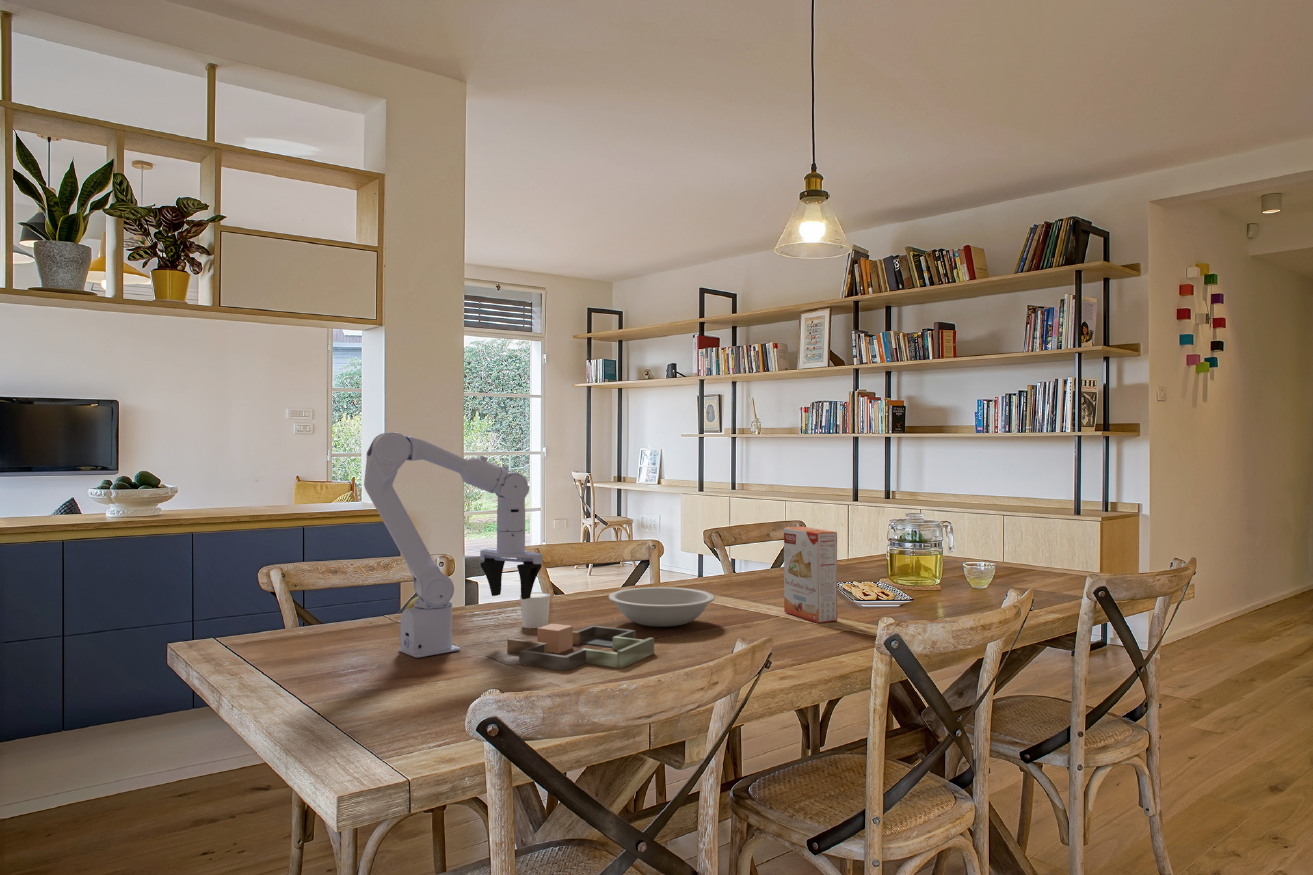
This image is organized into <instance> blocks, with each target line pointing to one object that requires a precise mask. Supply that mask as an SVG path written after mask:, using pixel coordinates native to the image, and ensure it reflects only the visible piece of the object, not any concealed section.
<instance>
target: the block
mask: <svg viewBox="0 0 1313 875" xmlns="http://www.w3.org/2000/svg"><path fill="white" fill-rule="evenodd" d="M573 627H574V626H573V625H569V624H568V625H566V624H559V623H550V624H549V623H548V625H546V626H543V627H540V628H537V631H536V632H537V635H536V636H537V641H536V642H542V643H547V653H552V652H553V653H552V654H561V653H563V652H566V651H569V650H571V649H573V648H574V646H573V645H574V644H573V631H574V628H573Z"/></svg>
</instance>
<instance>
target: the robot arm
mask: <svg viewBox="0 0 1313 875" xmlns="http://www.w3.org/2000/svg"><path fill="white" fill-rule="evenodd" d="M406 461H410V462H413V461H426V462H429V463H430V464H434V465H437V466H439V467H442V468H444V469H447V470H450V471H452V472H455V473H458V474H460V477H461V479H462V481H463V483H465V484H467V485H469V486H472V487H475V488H478V489H479V490H481V491H485V492H488V493H490V494H495V495H496V496H497V509H496V549H488V548H487V549H481V550H479V551H480V552H479V560H482V561H483V560H484V561H483V562H480V567H481V569H482V570H483V572H484V573H483V574H485V577H486V579H487V582H488V585H489V590H490V593H491V596H492V597H495V596H501V593H502V578H503V571H504V566H505V563H506V562H513V563H521V564H517V565H516V567H517V572H518V575H519V580H520V581H519V582H520V595H521V598H522V599H528V598H530V596H531V593H533V588H534V584H535V582H536V578H537V577H538V574H539V572H540V570H541V568H543V566H542V564H543V562H544V561H543V560H544V559H543V558H544V557H543V556H544V555H543V553H540V552H533V551H527V550H526V497H527V496H528V494H529V491H530V485H529V484H528V480H527V479H526V477H525V476H524V474H522V473H519V472H513V471H511V470H509V467H508V466H506V465H502V466H500V465H498V464H495V463H493V462H491V461H489V460H488V457H487V456H484V455H480V456H475V455H474V456H471V457H469V458H467V459H466V458H464V457H462V456H459V455H457V454H455V453H454V452H450V451H448V450H447V449H444V448H442V447H441V446H440V447H439V446H438V445H435V444H433V443H431V442H429V441H427V440H423V439H420V438H417V437H413V436H409V435H404V434H402V433H400V432H393V431H392V432H383V433H380V434H378V435H376V436H375V437H374V439H372V442H371V443H370V445H369V447H368V450H367V451H366V461H365V462H366V464H365V471H364V480H363V486H364V489H365V491H366V493H367V496H369V498H370V500H371V502H372V504H373V506H374V508H375V509H376V511H377V512H378V515H379V516H380V518H381V520H382V522H383V523H384V526H385V527H386V529H387V531H388V532H389V535H390V536H391V538H392V540H393V542H394V543H395V545H396V547H397V549H398V551H399V552H400V554H401V556H402V558H403V560H404V562H405V563H406V566H407V567H408V570H409V572H410V574H411V576H412V579H413V589H414V593H415V594H416V595H417V597H418V596H419V597H418V598H417V600H416V602H415V603H414V607H413V608H411V609H406V608H405V609H404V610H403V611H402V614H401V615H400V623H399V624H400V634H399V636H400V637H399V639H400V642H399V643H400V644H399V646H400V647H399V648H398V651H399V652H401V653H404V654H406V655H408V656H410V657H413V658H416V659H418V658H424V657H429V656H435V655H442V654H445V653H446V654H447V653H453V652H458V651H461V647H459V646H457V645H455V644H453V601H452V600H451V599H452V598H453V596H454V593H455V586H454V582H453V580H452V579H451V578H450V577H449V576H447V575H445V574H444V573H443V572H442V571H441V569H440V567H439V566H438V565H437V563H436V561H435V560H434V559H433V557H432V556H431V554H430V552H429V550H428V548H427V547H426V545H425V542H424V541H423V539H422V537H421V536H420V534H419V532H418V530H417V529H416V526H415V525H414V522H413V521H412V519H411V517H410V515H409V513H408V512H407V510H406V508H405V506H404V505H403V503H402V501H401V499H400V498H399V495H398V494H397V491H396V490H395V488H394V486H393V485H394V482H395V479H396V476H397V474H398V470H399V469H400V468H401V467H402V466H403V465H404V463H405V462H406Z"/></svg>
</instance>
